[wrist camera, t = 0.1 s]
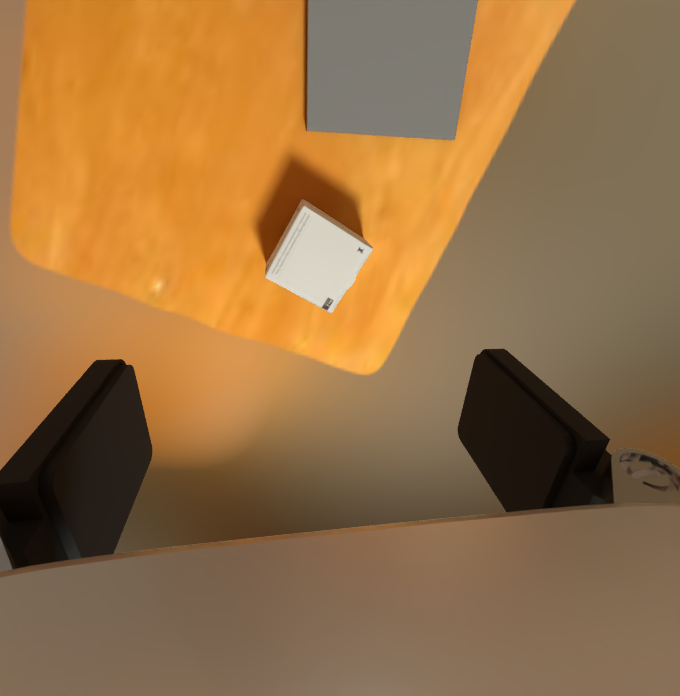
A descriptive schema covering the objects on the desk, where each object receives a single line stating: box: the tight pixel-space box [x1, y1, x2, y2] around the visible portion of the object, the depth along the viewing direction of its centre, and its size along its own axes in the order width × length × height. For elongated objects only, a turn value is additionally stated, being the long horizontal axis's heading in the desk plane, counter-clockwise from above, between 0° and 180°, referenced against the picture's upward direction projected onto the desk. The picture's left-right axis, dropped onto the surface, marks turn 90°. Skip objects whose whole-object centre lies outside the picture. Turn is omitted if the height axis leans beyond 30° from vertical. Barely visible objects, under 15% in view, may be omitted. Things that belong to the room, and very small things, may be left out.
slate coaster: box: [306, 0, 478, 140], centre depth 32 cm, size 14×14×1 cm
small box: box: [265, 199, 373, 313], centre depth 38 cm, size 8×8×5 cm
